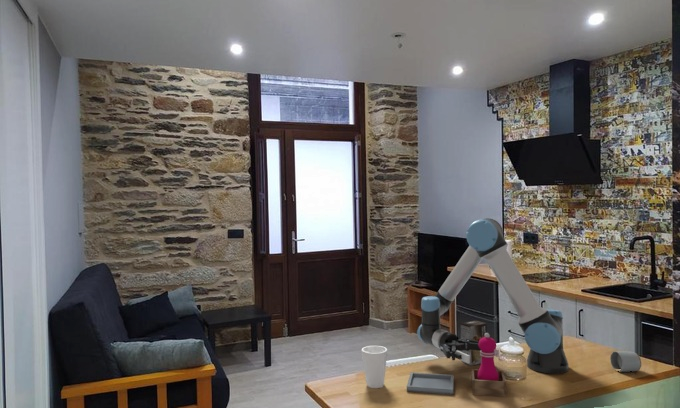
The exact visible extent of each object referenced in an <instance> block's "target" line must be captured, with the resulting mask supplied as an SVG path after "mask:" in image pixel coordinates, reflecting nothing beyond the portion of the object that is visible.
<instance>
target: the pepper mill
mask: <svg viewBox="0 0 680 408" xmlns="http://www.w3.org/2000/svg"><path fill="white" fill-rule="evenodd" d="M484 336H485V337H483V338H481V339H480V340H479V344H478V345H479V348H480V349H481V351H480V355H481V357H482V361H481V363H480V366H479V371H478V380H492V381H499V375H498V372H497V368H496V365H495V360H494V359H495V357H496V356H495V351H494V350H495V349H496V348H497V342H496V340H495V339H494V338H492V337H490V336H491V335H490V334H489V332H487V333H485V335H484Z"/></svg>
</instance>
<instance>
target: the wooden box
mask: <svg viewBox="0 0 680 408" xmlns="http://www.w3.org/2000/svg"><path fill="white" fill-rule="evenodd" d="M496 370H497V369H496ZM478 371H479V369H478V368H471V390H472V392H471V393H472V396H473V395H475V396H486V397H487V396H488V397H489V396H490V397H498V398H499V397H500V398H501V397H502V398H507V380H506V376H505V372H504V370H497V372H498V375H499V381H492V380H478Z"/></svg>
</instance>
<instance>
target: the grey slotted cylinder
mask: <svg viewBox="0 0 680 408" xmlns="http://www.w3.org/2000/svg"><path fill="white" fill-rule="evenodd" d="M609 359H610V365H611V367H612V369H613V370H614V369H621V370H620V371H619V372H618V373H626V372H627V373H629V372H630V371H632V372H638V371H639V370H640V369H642V368H641V367H642V360H641V357H640V356H639V354H638V353H636V352H634V351H630V350H629V351H625V350H624V351H623V350H614V351H612V352H611V354H610V358H609Z"/></svg>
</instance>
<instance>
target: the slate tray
mask: <svg viewBox="0 0 680 408" xmlns="http://www.w3.org/2000/svg"><path fill="white" fill-rule="evenodd" d="M454 379H455V377H454V374H445V373H444V374H442V373H430V372H429V373H427V372H410V373H409V377H408V381H407V384H406V392H409V393H410V392H411V393H412V392H413V393H425V394H437V395H449V396H450V395H451V396H452V395H453V396H454V388H455V387H454V382H455V380H454Z"/></svg>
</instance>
